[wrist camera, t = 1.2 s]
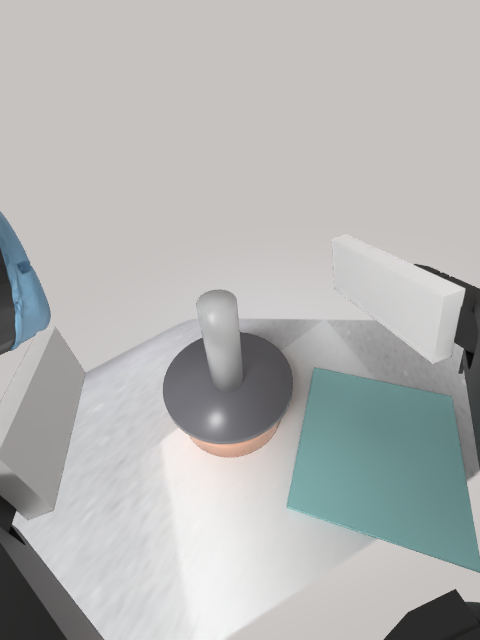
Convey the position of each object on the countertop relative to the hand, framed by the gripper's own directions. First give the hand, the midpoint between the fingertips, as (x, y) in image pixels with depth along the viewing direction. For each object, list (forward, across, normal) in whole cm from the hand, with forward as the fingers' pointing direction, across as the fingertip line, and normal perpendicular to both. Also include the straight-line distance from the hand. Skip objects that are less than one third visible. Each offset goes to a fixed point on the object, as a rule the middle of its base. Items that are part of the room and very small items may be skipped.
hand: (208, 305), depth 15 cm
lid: (+11, 0, -15) cm, 19 cm away
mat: (+3, +12, -23) cm, 26 cm away
